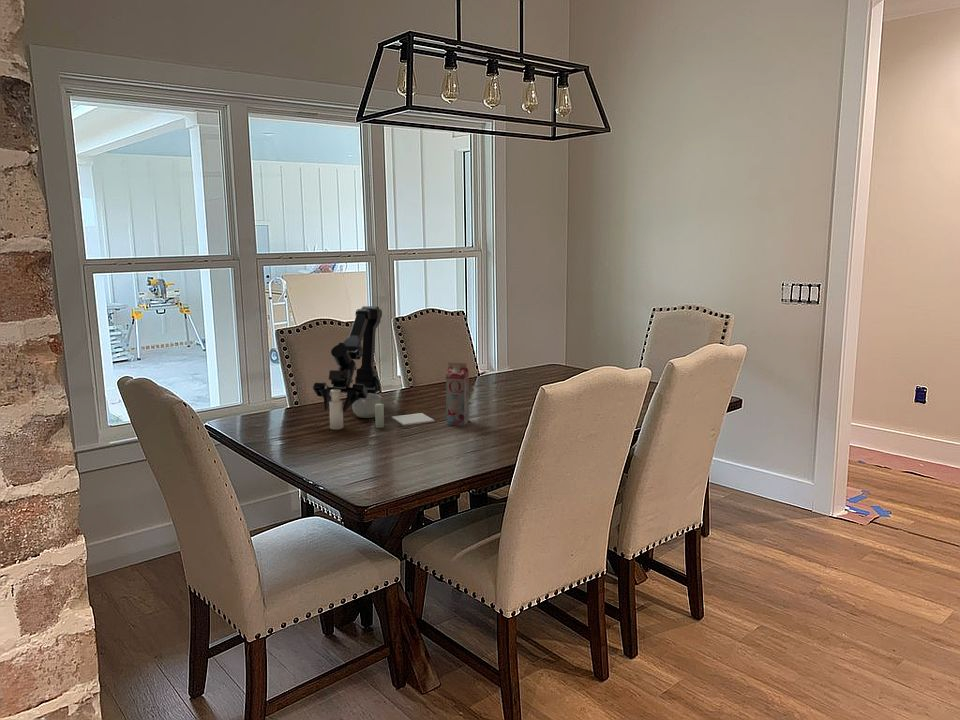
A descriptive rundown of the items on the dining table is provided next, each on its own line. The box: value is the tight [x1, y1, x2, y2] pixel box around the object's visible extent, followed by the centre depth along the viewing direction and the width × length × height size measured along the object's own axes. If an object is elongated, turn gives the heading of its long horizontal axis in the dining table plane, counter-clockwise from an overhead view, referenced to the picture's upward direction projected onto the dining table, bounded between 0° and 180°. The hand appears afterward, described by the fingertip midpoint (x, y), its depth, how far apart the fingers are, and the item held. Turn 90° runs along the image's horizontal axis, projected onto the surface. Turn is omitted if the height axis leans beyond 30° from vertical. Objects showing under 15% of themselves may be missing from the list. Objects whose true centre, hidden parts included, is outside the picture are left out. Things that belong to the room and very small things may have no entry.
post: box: [374, 403, 385, 429], centre depth 269 cm, size 3×3×8 cm
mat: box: [391, 412, 435, 426], centre depth 279 cm, size 12×12×1 cm
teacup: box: [351, 393, 382, 419], centre depth 283 cm, size 14×11×8 cm
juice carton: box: [445, 362, 470, 426], centre depth 273 cm, size 7×7×22 cm
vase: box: [328, 389, 344, 431], centre depth 267 cm, size 5×5×14 cm
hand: (334, 410), depth 266 cm, fingers open, 6 cm apart
